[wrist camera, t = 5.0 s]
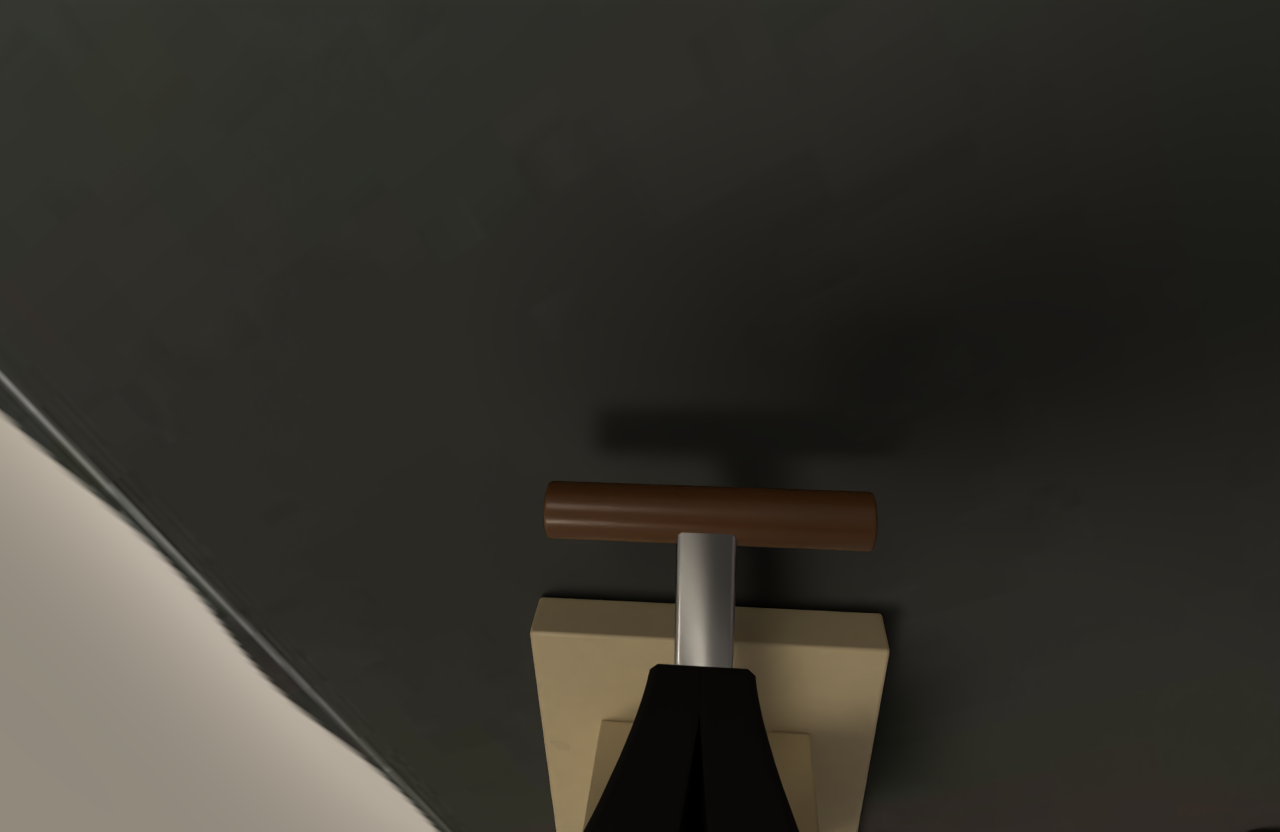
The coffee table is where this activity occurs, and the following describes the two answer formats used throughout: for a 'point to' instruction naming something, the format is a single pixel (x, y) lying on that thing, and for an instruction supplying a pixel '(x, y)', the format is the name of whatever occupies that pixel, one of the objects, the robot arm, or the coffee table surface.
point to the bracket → (763, 643)
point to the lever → (709, 540)
